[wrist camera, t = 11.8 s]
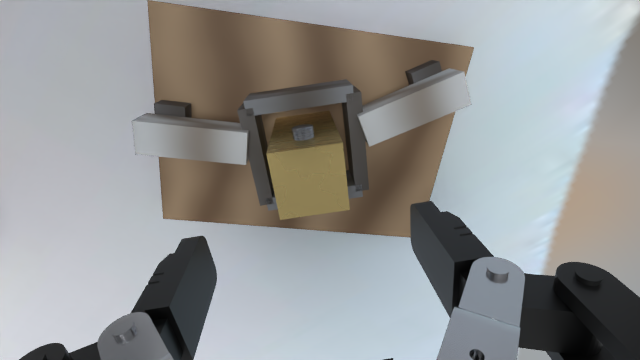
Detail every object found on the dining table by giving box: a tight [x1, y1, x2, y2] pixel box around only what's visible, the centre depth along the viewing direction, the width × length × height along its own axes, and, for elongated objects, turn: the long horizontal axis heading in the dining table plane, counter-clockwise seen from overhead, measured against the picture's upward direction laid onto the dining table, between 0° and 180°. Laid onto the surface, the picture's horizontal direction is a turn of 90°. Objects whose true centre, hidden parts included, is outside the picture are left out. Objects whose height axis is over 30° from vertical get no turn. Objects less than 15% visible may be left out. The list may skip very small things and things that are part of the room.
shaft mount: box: [132, 0, 474, 237], centre depth 24 cm, size 22×16×5 cm
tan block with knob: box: [266, 111, 350, 220], centre depth 21 cm, size 4×5×8 cm
